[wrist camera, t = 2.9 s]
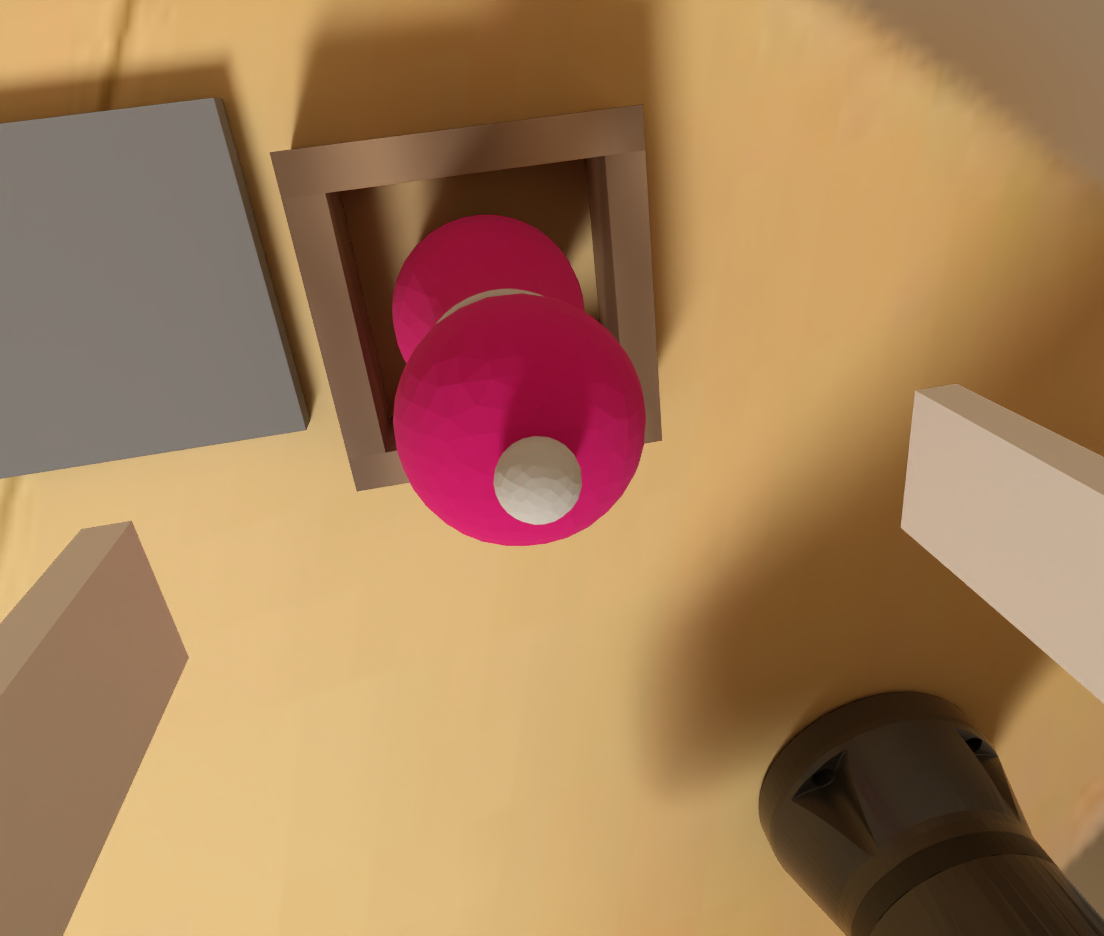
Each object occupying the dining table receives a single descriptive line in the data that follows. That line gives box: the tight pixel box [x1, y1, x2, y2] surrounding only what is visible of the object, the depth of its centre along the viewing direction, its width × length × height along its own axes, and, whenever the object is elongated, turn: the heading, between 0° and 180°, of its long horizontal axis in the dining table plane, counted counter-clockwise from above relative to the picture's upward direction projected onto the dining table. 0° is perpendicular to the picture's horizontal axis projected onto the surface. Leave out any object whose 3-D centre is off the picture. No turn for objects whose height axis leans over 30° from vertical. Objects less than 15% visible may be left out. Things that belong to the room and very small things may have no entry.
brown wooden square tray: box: [270, 104, 662, 491], centre depth 30 cm, size 13×13×4 cm
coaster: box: [0, 98, 310, 479], centre depth 29 cm, size 13×13×1 cm
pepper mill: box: [392, 215, 646, 546], centre depth 23 cm, size 7×7×20 cm
